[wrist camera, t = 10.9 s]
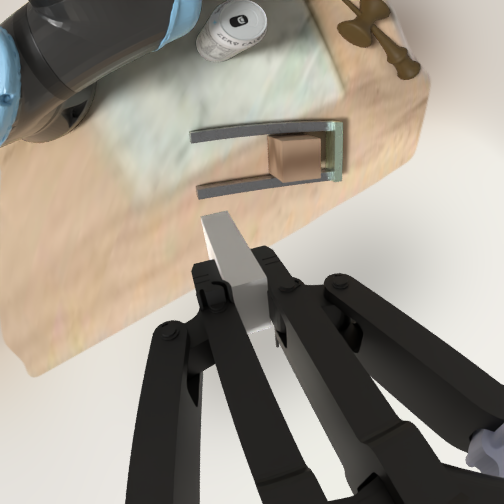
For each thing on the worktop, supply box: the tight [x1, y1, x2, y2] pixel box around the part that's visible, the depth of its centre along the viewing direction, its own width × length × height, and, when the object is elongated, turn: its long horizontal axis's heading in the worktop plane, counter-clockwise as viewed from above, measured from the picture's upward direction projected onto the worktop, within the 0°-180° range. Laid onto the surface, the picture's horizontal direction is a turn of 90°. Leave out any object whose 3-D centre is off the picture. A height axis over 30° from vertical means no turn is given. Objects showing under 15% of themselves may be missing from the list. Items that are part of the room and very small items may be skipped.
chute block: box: [267, 133, 321, 183], centre depth 44 cm, size 6×6×6 cm
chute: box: [189, 120, 343, 199], centre depth 44 cm, size 10×24×3 cm, turn 94°
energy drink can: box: [196, 0, 267, 62], centre depth 29 cm, size 6×6×15 cm
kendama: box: [337, 0, 420, 80], centre depth 37 cm, size 6×10×20 cm
